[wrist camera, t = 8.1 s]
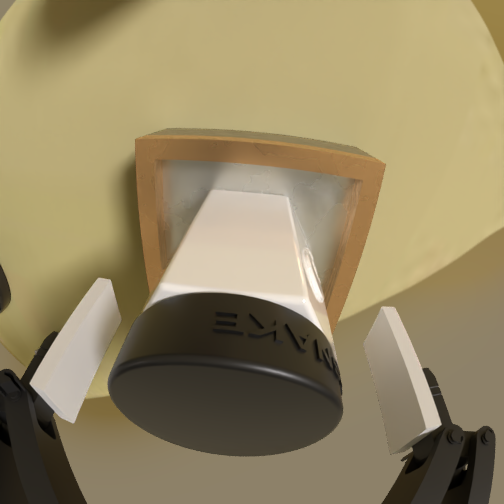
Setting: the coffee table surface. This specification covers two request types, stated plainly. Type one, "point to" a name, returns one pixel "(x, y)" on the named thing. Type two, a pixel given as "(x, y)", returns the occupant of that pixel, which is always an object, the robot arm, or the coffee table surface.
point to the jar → (233, 337)
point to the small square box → (265, 182)
